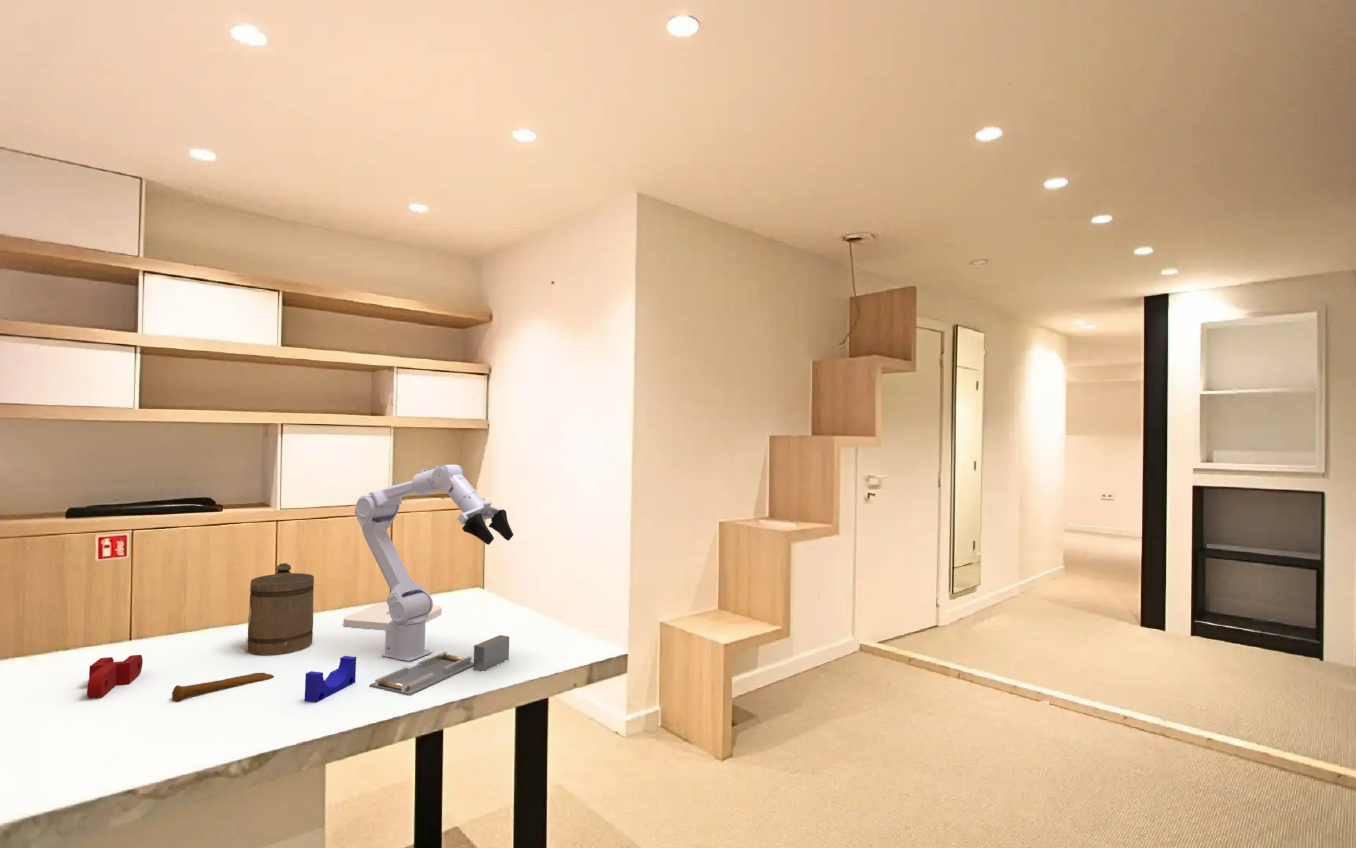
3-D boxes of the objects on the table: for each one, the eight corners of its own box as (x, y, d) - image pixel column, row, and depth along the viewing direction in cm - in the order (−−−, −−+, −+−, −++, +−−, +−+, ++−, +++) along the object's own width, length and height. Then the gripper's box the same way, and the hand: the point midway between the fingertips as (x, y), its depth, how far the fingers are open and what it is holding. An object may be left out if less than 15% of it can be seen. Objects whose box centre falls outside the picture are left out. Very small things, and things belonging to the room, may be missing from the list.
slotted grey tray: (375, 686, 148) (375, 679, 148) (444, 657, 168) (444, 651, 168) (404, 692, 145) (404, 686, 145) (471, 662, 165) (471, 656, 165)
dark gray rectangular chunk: (473, 670, 161) (474, 645, 161) (499, 658, 170) (499, 635, 170) (483, 672, 160) (484, 647, 160) (508, 660, 169) (509, 636, 169)
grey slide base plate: (369, 686, 148) (369, 684, 148) (439, 657, 169) (439, 656, 169) (409, 695, 144) (410, 693, 144) (476, 665, 164) (476, 663, 164)
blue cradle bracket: (338, 681, 152) (339, 655, 152) (355, 683, 151) (356, 657, 151) (298, 701, 140) (299, 672, 140) (316, 703, 139) (317, 675, 139)
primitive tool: (263, 674, 155) (263, 659, 155) (276, 679, 152) (276, 664, 153) (168, 701, 138) (169, 685, 139) (181, 707, 136) (181, 690, 136)
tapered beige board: (338, 628, 193) (338, 619, 193) (383, 609, 215) (383, 601, 215) (406, 633, 190) (406, 624, 190) (445, 614, 211) (445, 606, 211)
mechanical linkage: (103, 677, 150) (104, 655, 151) (142, 673, 153) (143, 651, 153) (71, 703, 136) (73, 679, 136) (115, 698, 139) (116, 675, 139)
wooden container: (275, 636, 183) (279, 557, 183) (324, 640, 180) (327, 560, 181) (232, 653, 168) (236, 567, 168) (285, 658, 166) (288, 570, 166)
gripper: (457, 491, 157) (491, 531, 153) (496, 487, 170) (527, 524, 166) (441, 512, 158) (474, 552, 154) (480, 507, 172) (512, 544, 168)
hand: (501, 539), depth 160 cm, fingers open, 7 cm apart
